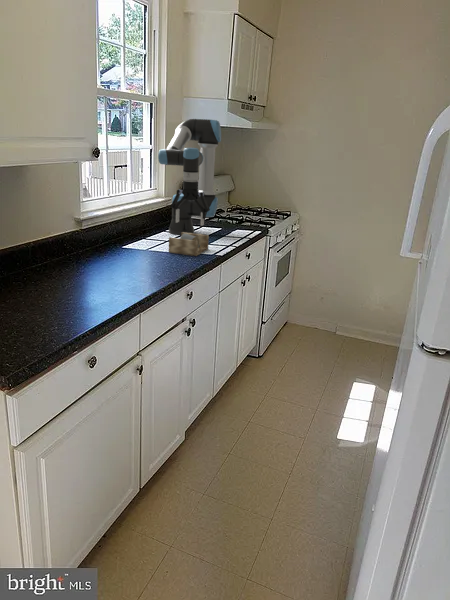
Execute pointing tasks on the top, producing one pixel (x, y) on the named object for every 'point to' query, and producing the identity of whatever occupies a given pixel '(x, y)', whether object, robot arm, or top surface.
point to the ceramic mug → (190, 238)
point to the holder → (189, 245)
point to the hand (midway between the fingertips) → (189, 223)
